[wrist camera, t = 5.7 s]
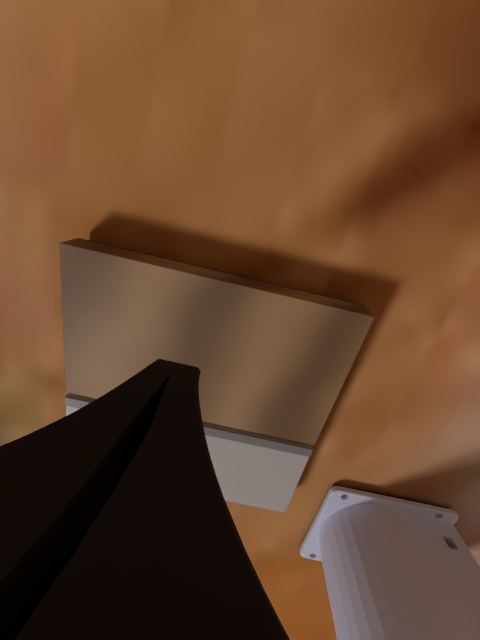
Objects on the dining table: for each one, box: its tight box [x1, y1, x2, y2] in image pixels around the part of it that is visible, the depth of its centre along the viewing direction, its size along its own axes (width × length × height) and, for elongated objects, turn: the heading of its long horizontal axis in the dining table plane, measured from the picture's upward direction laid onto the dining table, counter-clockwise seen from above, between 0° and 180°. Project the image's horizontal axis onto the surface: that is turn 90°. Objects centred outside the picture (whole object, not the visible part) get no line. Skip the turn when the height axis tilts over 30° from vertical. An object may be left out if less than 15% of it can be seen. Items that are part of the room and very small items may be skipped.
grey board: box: [65, 393, 313, 513], centre depth 19 cm, size 15×6×2 cm, turn 77°
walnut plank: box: [60, 238, 375, 445], centre depth 16 cm, size 15×9×2 cm, turn 77°
